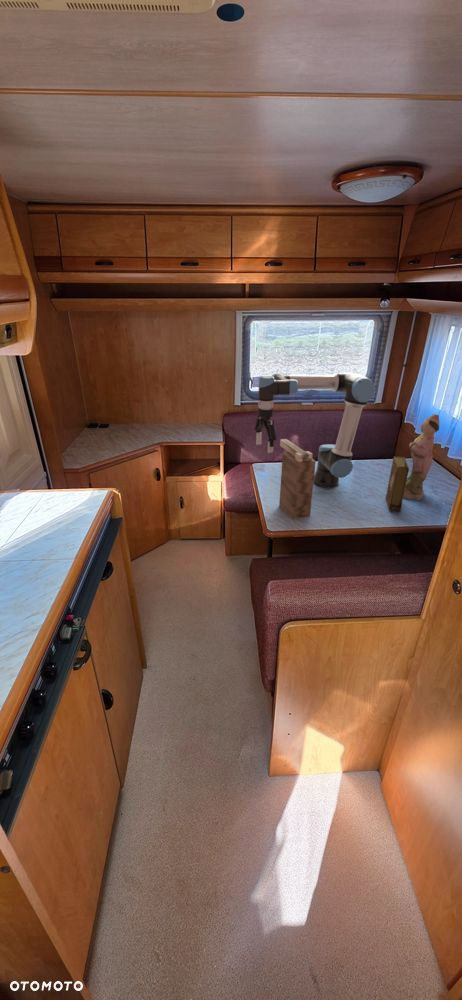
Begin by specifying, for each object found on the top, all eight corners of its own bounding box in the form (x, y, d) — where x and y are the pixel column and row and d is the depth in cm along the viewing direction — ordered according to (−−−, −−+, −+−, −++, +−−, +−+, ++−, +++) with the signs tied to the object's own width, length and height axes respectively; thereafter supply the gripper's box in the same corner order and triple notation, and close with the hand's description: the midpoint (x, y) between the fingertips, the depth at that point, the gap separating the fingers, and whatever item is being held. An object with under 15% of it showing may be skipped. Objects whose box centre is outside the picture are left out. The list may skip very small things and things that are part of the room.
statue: (424, 490, 247) (442, 413, 227) (423, 501, 234) (441, 421, 214) (396, 485, 253) (411, 409, 233) (393, 496, 240) (408, 417, 219)
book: (385, 498, 238) (393, 455, 227) (395, 498, 237) (404, 456, 226) (388, 511, 223) (397, 467, 212) (399, 512, 222) (409, 467, 211)
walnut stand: (295, 503, 231) (300, 450, 217) (309, 515, 218) (315, 460, 205) (279, 506, 228) (282, 452, 214) (292, 519, 215) (297, 463, 202)
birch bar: (288, 444, 225) (289, 438, 224) (311, 460, 205) (312, 453, 204) (276, 446, 223) (277, 439, 222) (298, 462, 203) (299, 455, 201)
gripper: (248, 403, 224) (248, 442, 233) (270, 415, 203) (268, 457, 212) (261, 401, 226) (260, 440, 236) (284, 413, 205) (282, 455, 215)
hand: (264, 448), depth 224 cm, fingers open, 13 cm apart
